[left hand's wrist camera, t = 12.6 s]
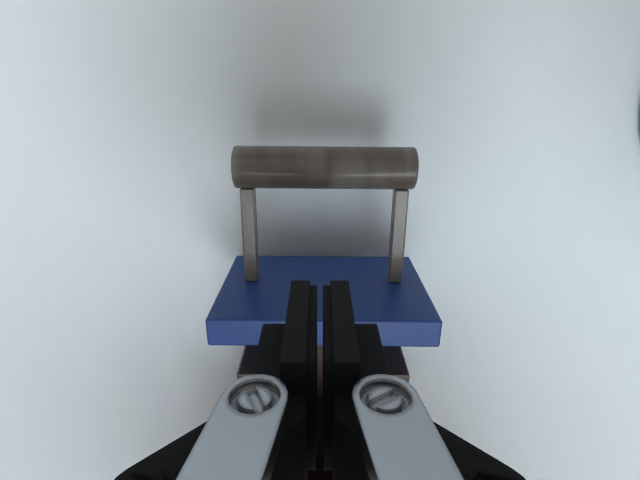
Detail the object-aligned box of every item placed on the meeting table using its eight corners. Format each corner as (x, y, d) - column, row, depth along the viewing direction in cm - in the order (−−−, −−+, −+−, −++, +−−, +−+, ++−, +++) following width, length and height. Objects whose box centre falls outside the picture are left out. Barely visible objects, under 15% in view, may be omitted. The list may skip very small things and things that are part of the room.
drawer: (229, 137, 21) (189, 160, 14) (419, 139, 21) (462, 162, 14) (248, 448, 27) (227, 556, 21) (392, 449, 27) (413, 557, 21)
